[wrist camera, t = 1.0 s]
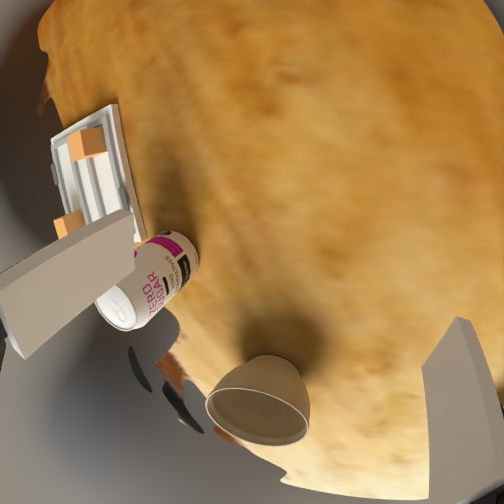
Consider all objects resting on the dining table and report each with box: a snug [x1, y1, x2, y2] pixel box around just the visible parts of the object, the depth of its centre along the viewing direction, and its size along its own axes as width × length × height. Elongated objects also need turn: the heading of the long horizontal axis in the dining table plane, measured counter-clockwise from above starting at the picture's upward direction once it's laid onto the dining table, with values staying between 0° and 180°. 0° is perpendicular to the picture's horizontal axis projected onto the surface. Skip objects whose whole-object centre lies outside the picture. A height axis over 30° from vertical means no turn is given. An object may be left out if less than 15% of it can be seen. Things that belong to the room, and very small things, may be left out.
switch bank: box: [51, 104, 147, 242], centre depth 42 cm, size 22×18×2 cm
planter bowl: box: [205, 355, 310, 447], centre depth 43 cm, size 16×16×11 cm
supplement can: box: [94, 231, 199, 331], centre depth 37 cm, size 8×8×15 cm
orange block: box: [67, 127, 107, 162], centre depth 36 cm, size 4×3×5 cm
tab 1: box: [54, 210, 86, 239], centre depth 44 cm, size 4×3×5 cm
